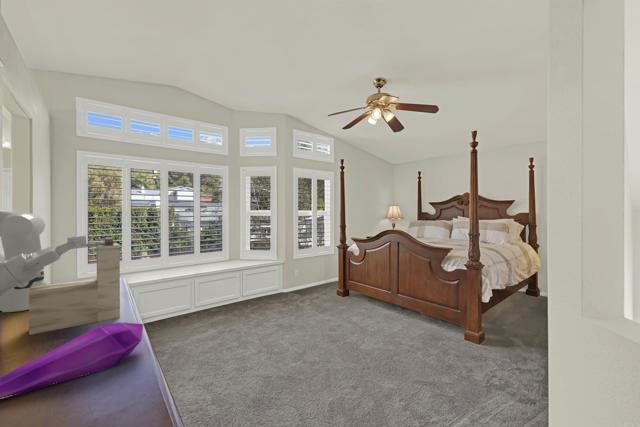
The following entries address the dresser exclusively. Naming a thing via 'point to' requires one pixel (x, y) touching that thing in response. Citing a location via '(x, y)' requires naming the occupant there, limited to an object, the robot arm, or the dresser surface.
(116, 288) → the maple stand
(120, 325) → the crystal
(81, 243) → the steel link
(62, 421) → the dresser surface
